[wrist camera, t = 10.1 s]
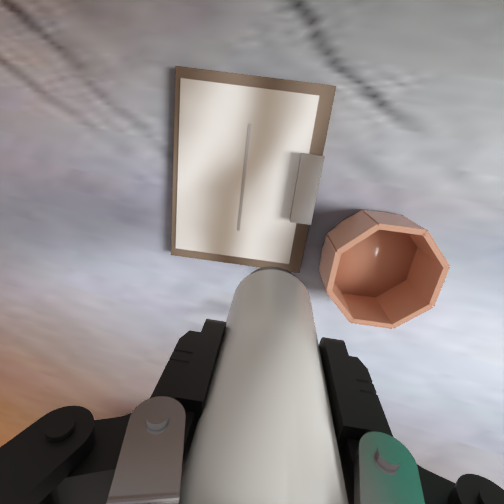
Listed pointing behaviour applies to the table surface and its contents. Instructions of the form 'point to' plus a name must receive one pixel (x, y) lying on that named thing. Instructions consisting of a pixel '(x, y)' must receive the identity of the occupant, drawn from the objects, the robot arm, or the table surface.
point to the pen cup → (381, 268)
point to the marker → (266, 406)
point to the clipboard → (246, 166)
